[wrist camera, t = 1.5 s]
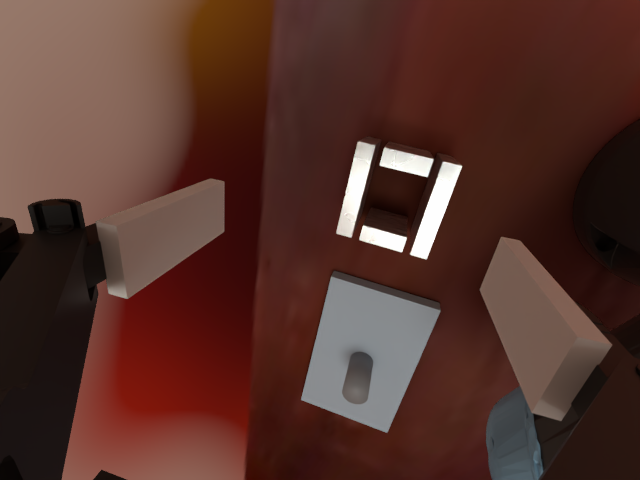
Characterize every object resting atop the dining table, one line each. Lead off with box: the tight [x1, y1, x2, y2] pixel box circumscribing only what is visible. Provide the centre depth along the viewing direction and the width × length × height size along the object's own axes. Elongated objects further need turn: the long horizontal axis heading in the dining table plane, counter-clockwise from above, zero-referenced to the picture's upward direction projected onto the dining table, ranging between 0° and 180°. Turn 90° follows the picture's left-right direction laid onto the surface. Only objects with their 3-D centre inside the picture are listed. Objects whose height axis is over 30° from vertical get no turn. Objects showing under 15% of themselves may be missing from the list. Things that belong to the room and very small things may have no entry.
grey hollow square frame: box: [336, 136, 462, 259], centre depth 28 cm, size 8×8×6 cm
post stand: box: [301, 271, 441, 433], centre depth 36 cm, size 12×20×6 cm, turn 168°
